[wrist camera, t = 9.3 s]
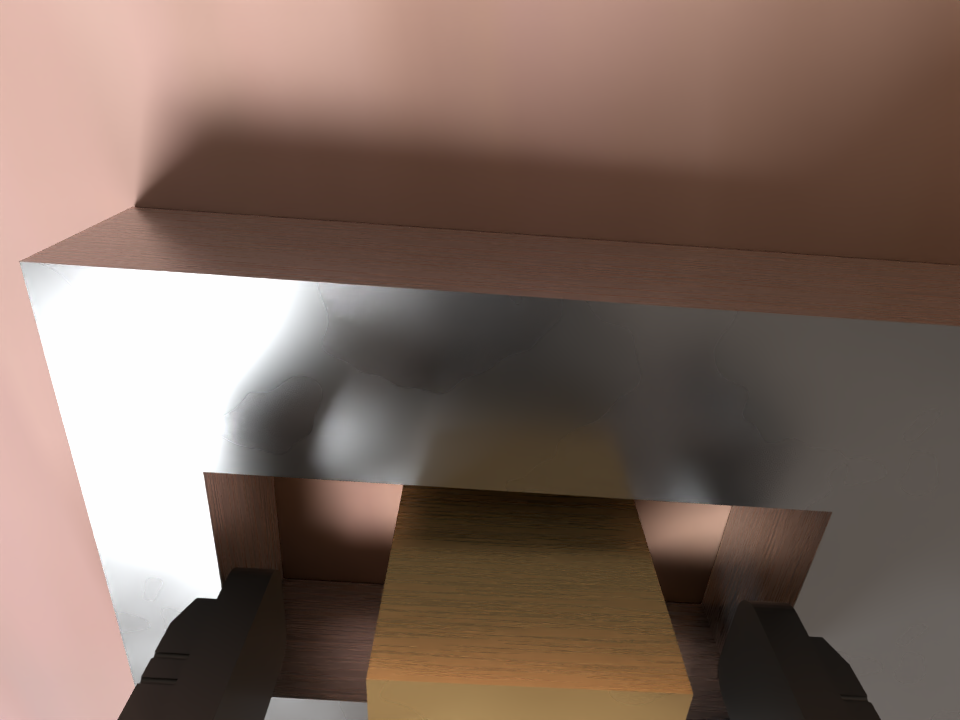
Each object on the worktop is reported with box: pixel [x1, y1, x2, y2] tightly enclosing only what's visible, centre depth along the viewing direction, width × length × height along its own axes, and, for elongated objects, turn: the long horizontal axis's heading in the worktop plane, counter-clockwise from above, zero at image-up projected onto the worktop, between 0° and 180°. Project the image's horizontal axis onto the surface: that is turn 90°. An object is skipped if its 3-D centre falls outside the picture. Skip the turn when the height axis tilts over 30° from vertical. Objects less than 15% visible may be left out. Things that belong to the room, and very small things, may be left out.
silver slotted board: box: [20, 207, 960, 720], centre depth 13 cm, size 26×12×3 cm, turn 86°
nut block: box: [366, 485, 693, 720], centre depth 11 cm, size 4×4×6 cm
